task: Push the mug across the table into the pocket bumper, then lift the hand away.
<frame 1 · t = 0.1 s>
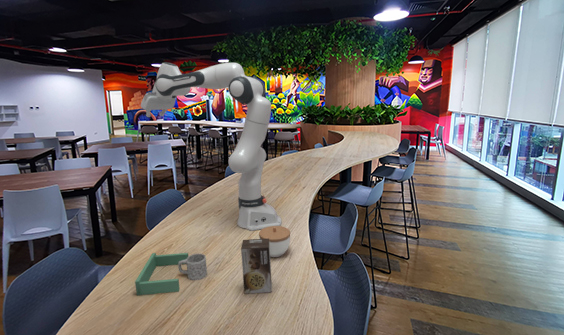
hand: (154, 116, 158), 54 cm above the table, tool tilted 30°, fingers open, 8 cm apart
brown food box: (258, 287, 98), on the table
mug: (193, 275, 106), on the table
lidded bowl: (275, 253, 120), on the table
pocket bumper: (167, 277, 105), on the table
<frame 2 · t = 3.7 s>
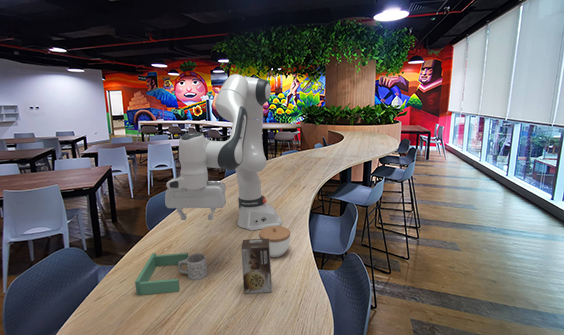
hand: (197, 219, 102), 21 cm above the table, tool pointing down, fingers open, 8 cm apart
nothing on the table moved.
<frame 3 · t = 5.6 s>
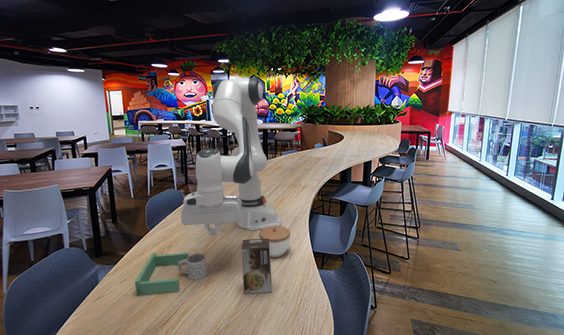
hand: (212, 234, 103), 15 cm above the table, tool pointing down, fingers closed
nothing on the table moved.
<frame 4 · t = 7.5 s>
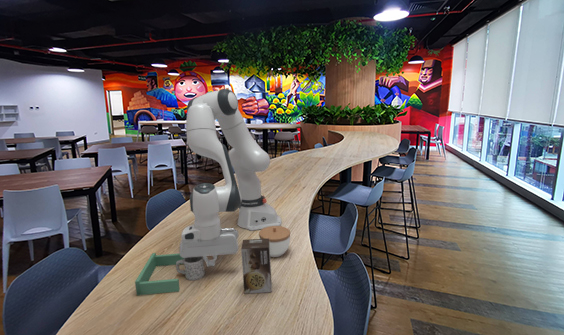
hand: (211, 265, 106), 3 cm above the table, tool pointing down, fingers closed
mug: (190, 275, 106), on the table, touching gripper
everything else where it was.
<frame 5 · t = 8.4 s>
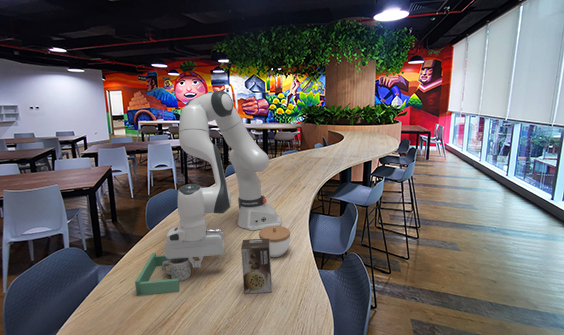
hand: (197, 266, 105), 3 cm above the table, tool pointing down, fingers closed
mug: (177, 276, 105), on the table, touching gripper
everything else where it was.
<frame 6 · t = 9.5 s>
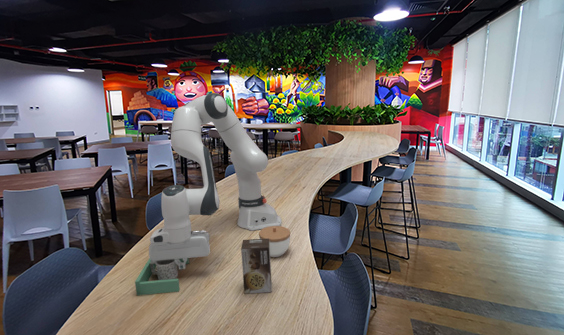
hand: (182, 268, 104), 3 cm above the table, tool pointing down, fingers closed
mug: (163, 276, 105), on the table, touching gripper, pocket bumper
everything else where it was.
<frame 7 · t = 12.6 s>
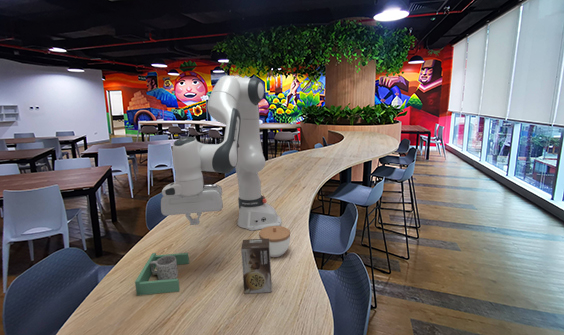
hand: (195, 224, 102), 19 cm above the table, tool pointing down, fingers closed
mug: (164, 277, 105), on the table
everything else where it was.
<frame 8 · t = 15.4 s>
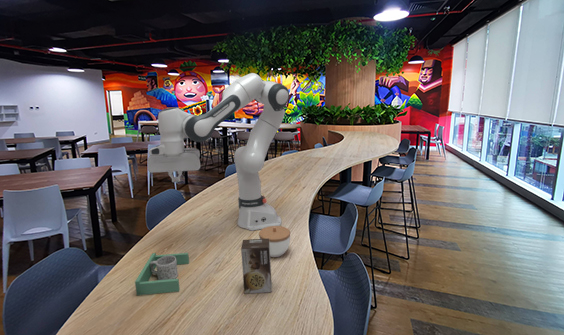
hand: (176, 181, 121), 29 cm above the table, tool pointing down, fingers closed
nothing on the table moved.
at the end: mug inside the target area (0.7 cm from its centre), on the table; mug tilted 0°; the gripper is holding nothing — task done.
